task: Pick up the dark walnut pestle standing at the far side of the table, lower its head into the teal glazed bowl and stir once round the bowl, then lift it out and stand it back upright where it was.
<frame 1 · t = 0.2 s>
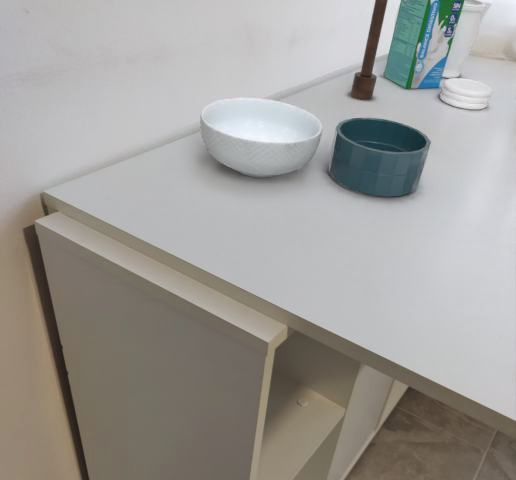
coaster: (462, 103, 113), on the table
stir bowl: (372, 178, 79), on the table
milk carton: (410, 82, 121), on the table
cereal bowl: (257, 167, 79), on the table
pestle: (361, 96, 109), on the table
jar: (441, 74, 129), on the table
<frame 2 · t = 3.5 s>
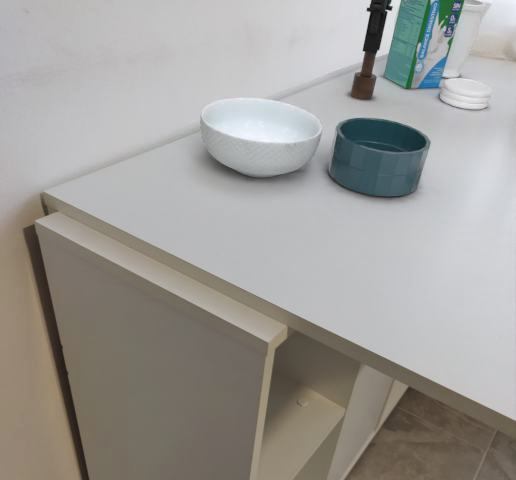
hand: (371, 50, 103), 8 cm above the table, tool pointing down, fingers closed on pestle, 2 cm apart
pestle: (361, 96, 109), on the table, touching gripper
everything else where it was.
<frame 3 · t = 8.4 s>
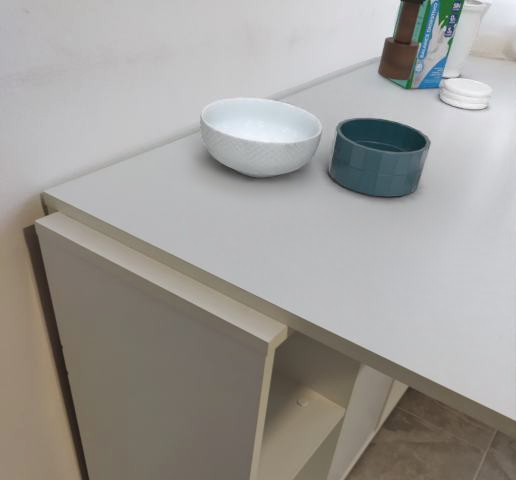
hand: (413, 0, 65), 22 cm above the table, tool pointing down, fingers closed on pestle, 2 cm apart
pestle: (394, 75, 71), point 14 cm above the table, touching gripper
everything else where it was.
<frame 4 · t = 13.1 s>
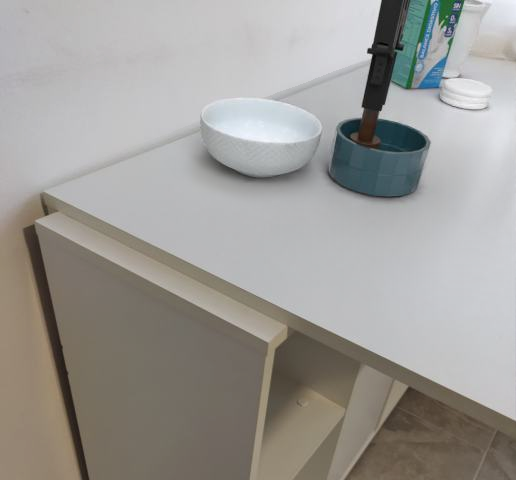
hand: (373, 105, 73), 10 cm above the table, tool pointing down, fingers closed on pestle, 2 cm apart
pestle: (359, 165, 79), point 2 cm above the table, touching gripper
everything else where it was.
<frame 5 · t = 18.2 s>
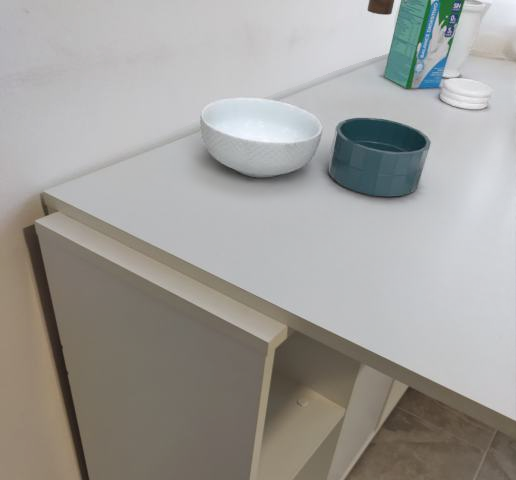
pestle: (379, 12, 97), point 15 cm above the table, touching gripper
everything else where it was.
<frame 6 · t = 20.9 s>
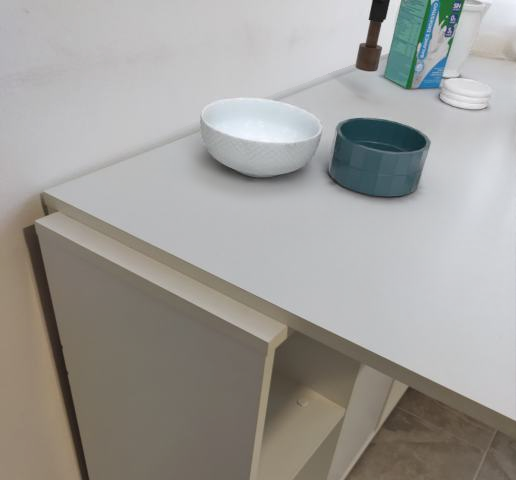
hand: (377, 19, 100), 14 cm above the table, tool pointing down, fingers closed on pestle, 2 cm apart
pestle: (366, 68, 106), point 5 cm above the table, touching gripper
everything else where it was.
when the fingers open (8 cm above the table, at t = 22.6 s): pestle stays where it is, on the table.
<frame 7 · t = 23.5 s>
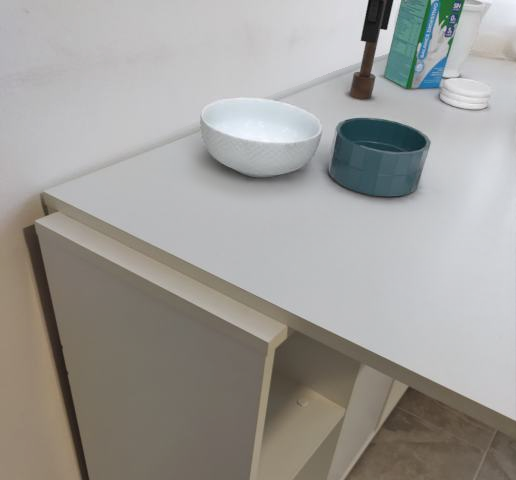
hand: (374, 35, 102), 11 cm above the table, tool pointing down, fingers open, 13 cm apart
pestle: (360, 96, 109), on the table
everything else where it was.
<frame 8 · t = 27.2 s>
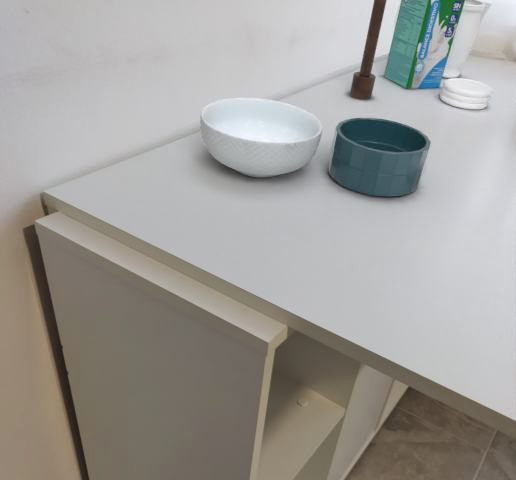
nothing on the table moved.
at the end: pestle tilted 0°; the gripper is holding nothing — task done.
